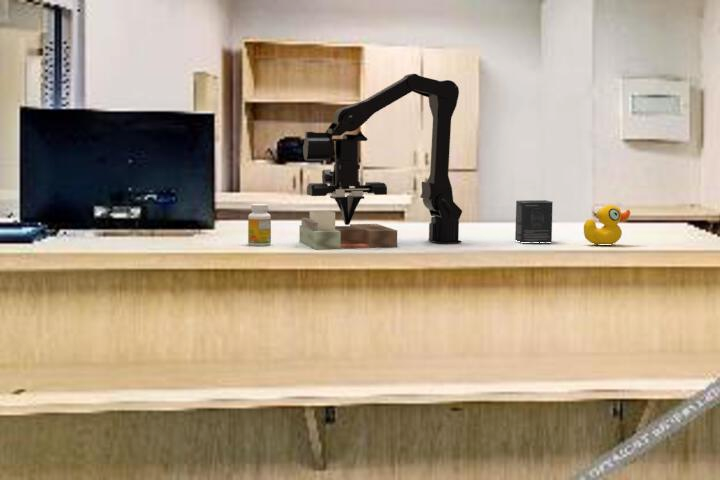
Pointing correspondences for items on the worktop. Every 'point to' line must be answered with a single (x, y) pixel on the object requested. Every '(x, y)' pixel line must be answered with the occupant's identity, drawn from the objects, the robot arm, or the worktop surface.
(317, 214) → the cream block
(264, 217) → the supplement bottle
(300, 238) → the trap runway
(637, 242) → the worktop surface
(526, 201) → the box
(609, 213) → the duckling
